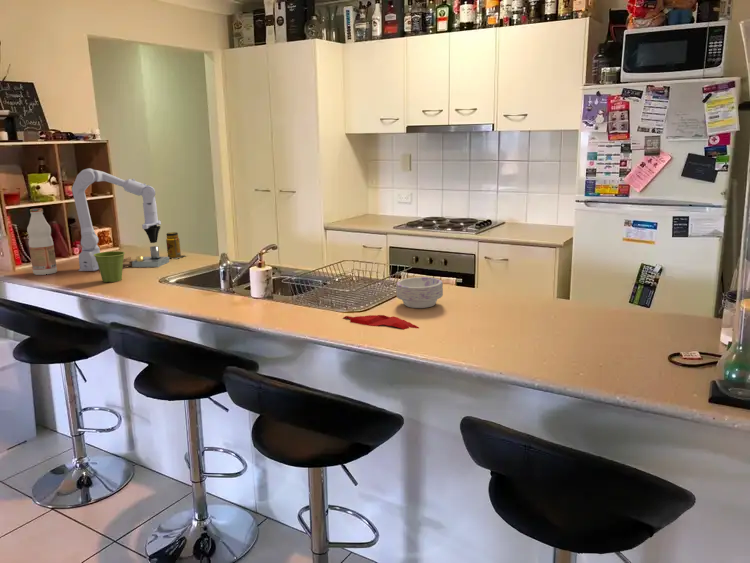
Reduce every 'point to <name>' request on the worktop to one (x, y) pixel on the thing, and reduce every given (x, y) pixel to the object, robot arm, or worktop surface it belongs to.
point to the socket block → (150, 262)
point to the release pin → (139, 258)
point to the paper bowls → (419, 291)
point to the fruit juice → (41, 244)
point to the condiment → (173, 245)
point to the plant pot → (110, 265)
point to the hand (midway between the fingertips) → (153, 242)
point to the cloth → (381, 321)
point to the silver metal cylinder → (154, 252)
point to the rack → (128, 262)
